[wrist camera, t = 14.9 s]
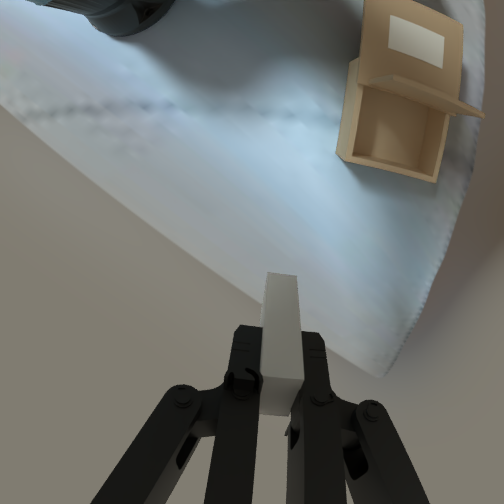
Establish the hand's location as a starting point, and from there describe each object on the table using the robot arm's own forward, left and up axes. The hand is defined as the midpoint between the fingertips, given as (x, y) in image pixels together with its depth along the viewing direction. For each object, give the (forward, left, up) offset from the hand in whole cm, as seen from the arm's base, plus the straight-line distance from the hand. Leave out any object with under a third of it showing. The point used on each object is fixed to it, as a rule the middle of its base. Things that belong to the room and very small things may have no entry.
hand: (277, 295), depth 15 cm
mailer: (+15, +11, -29) cm, 35 cm away
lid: (+15, +21, -23) cm, 35 cm away
